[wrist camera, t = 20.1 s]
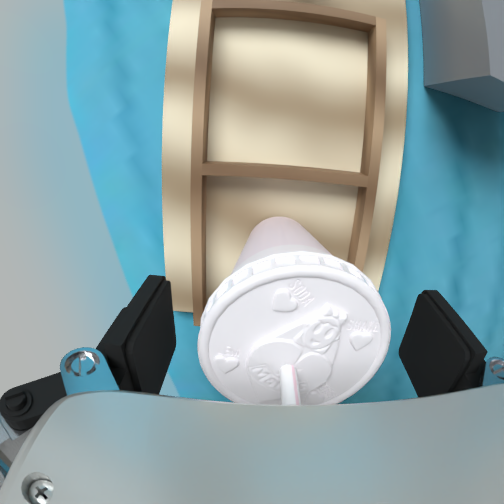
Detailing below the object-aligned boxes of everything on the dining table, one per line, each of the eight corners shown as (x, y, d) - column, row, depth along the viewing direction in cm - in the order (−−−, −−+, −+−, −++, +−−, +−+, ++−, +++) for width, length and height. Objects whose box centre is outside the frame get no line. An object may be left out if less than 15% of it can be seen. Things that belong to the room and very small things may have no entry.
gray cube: (419, -2, 13) (472, -37, 6) (492, 31, 13) (550, 17, 6) (423, 86, 15) (490, 75, 9) (496, 111, 15) (562, 117, 9)
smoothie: (205, 264, 19) (133, 483, 6) (259, 171, 17) (268, 319, 4) (293, 310, 20) (328, 523, 7) (352, 229, 18) (493, 413, 5)
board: (191, -74, 11) (175, -114, 6) (391, -55, 11) (418, -87, 6) (172, 301, 22) (151, 346, 17) (365, 311, 21) (388, 356, 17)
